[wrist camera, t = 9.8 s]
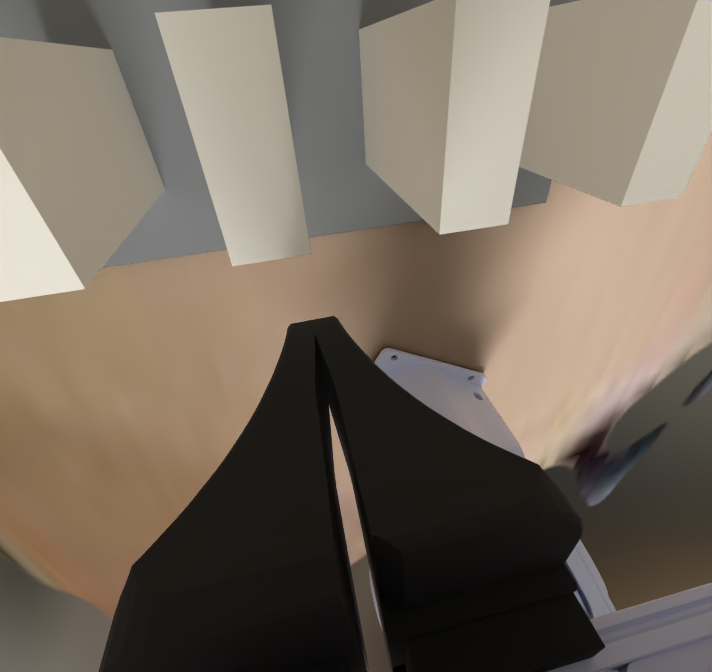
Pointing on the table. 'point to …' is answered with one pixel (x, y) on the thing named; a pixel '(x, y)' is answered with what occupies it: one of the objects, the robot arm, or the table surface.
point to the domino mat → (304, 101)
